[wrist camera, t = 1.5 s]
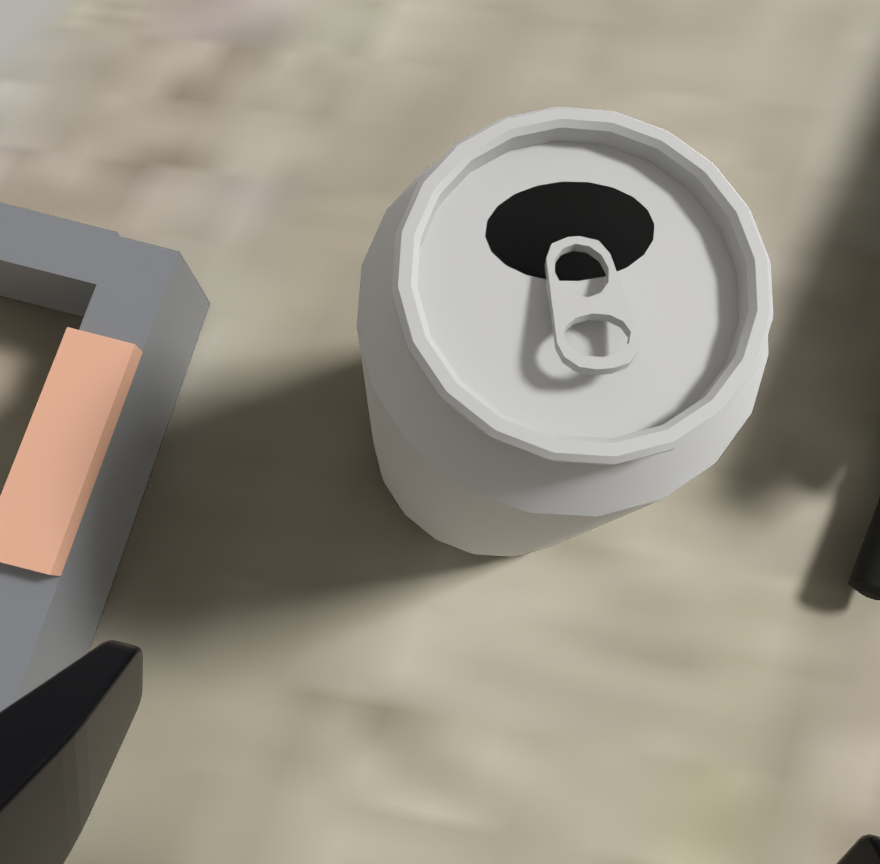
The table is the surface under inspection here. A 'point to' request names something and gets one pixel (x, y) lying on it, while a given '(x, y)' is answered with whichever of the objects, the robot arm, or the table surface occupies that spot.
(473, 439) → the can
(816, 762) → the table surface
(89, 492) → the comb rack
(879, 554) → the handheld radio
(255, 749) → the table surface
